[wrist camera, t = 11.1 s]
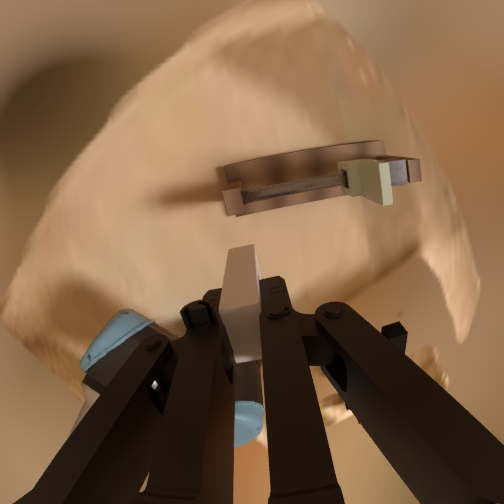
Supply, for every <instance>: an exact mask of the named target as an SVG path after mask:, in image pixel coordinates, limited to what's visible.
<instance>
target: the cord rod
mask: <svg viewBox="0 0 504 504" xmlns="http://www.w3.org/2000/svg"><path fill="white" fill-rule="evenodd" d="M377 161H381V162H389V170H390V179H391V186H397V185H404V184H408V181H407V171H406V162H405V160H403V159H394V158H393V159H384V160H377ZM343 185H349V184H348V177H347V172H343V173H337V174H331V175H325V176H319V177H313V178H307V179H302V180H296V181H291V182H286V183H280V184H275V185H270V186H265V187H261V188H256V189H251V190H246V191H242V192H241V196H242V200H243V204H248V203H253V202H258V201H263V200H268V199H272V198H277V197H282V196H288V195H293V194H298V193H303V192H309V191H314V190H320V189H325V188H331V187H337V186H343Z"/></svg>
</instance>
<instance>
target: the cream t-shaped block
mask: <svg viewBox="0 0 504 504" xmlns="http://www.w3.org/2000/svg"><path fill="white" fill-rule="evenodd" d="M337 164H338V170H339V173H343V172H347V177H348V184H349V185H343V186H341V190H342V192H343V193H345V194H348V195H350V196H352V197H354V196H360V195H363V197H365V198H367V199H370V200H372V201H374V202H376V203H378V204H381V205H383V206H385V205H390V204H393V200H392V188H391V179H390V170H389V162H381V161H377V160H372V159H358V160H351V161H344V162H337Z"/></svg>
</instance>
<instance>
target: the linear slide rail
mask: <svg viewBox="0 0 504 504" xmlns="http://www.w3.org/2000/svg"><path fill="white" fill-rule="evenodd" d="M393 158H394V159H403V160H405V162H406V171H407V181H408V182H410V183H411V182H418V181H422V179H421V168H420V159H415V158H406V157H397V156H386V151H385V145H384V141H372V142H362V143H353V144H345V145H337V146H330V147H323V148H316V149H309V150H303V151H297V152H291V153H286V154H280V155H275V156H269V157H264V158H259V159H254V160H250V161H245V162H240V163H236V164H231V165H227V166H224V167H225V172H226V176H227V180H228V183H227V185H226V186H225V188H224V190H223V191H222V192H223V196H224V201H225V205H226V209H227V213H228V216H231V215H236V217H238V216H243V215H248V214H252V213H257V212H262V211H267V210H271V209H276V208H281V207H286V206H291V205H296V204H302V203H307V202H312V201H317V200H323V199H328V198H334V197H339V196H345V195H348V194H345V193H343V192H342V190H341V186H337V187H331V188H325V189H320V190H314V191H309V192H303V193H298V194H293V195H288V196H282V197H277V198H272V199H268V200H263V201H258V202H253V203H248V204H243V200H242V196H241V192H242V191H246V190H251V189H256V188H261V187H265V186H270V185H275V184H280V183H286V182H291V181H296V180H302V179H307V178H313V177H319V176H325V175H331V174H337V173H339V170H338V164H337V162H344V161H351V160H358V159H372V160H384V159H393Z"/></svg>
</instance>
